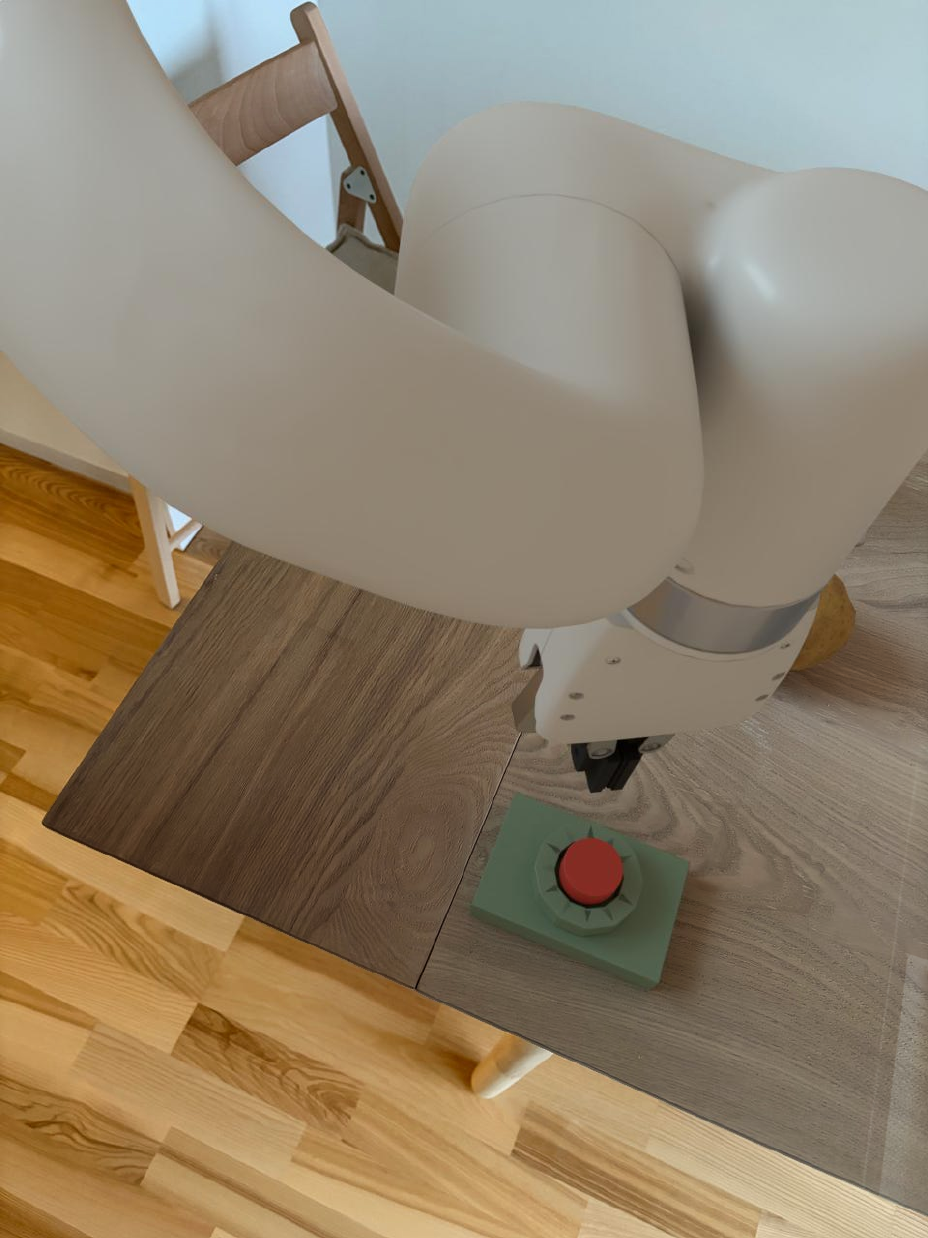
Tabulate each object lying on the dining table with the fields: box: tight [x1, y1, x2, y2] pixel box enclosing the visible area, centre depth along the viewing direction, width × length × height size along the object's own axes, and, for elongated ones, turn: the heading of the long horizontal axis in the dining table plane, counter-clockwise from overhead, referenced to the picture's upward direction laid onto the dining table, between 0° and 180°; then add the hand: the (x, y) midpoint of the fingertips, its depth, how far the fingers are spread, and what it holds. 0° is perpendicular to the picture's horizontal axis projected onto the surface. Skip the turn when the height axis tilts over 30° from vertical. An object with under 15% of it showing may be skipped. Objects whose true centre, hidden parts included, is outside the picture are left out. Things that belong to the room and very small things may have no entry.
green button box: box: [467, 791, 691, 991], centre depth 59 cm, size 12×8×4 cm, turn 69°
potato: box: [789, 573, 857, 671], centre depth 68 cm, size 10×13×9 cm
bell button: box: [559, 838, 623, 905], centre depth 57 cm, size 4×4×2 cm
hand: (598, 764), depth 48 cm, fingers closed
